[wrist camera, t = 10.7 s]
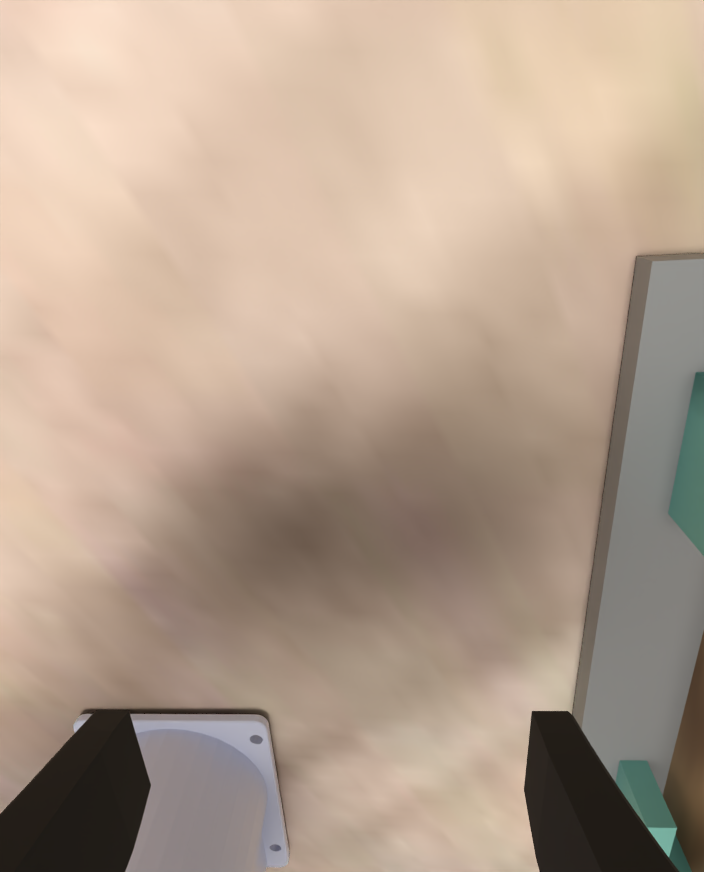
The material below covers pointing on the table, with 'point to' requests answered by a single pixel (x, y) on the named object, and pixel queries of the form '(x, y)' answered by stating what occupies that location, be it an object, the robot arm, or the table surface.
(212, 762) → the robot arm
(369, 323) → the table surface
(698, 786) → the slat
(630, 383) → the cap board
